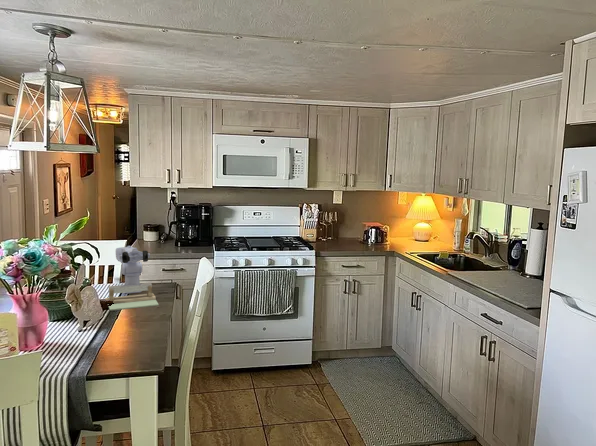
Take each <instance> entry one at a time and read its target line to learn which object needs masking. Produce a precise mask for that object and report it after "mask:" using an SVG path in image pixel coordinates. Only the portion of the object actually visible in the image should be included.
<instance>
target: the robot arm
mask: <svg viewBox="0 0 596 446" xmlns="http://www.w3.org/2000/svg"><path fill="white" fill-rule="evenodd" d="M115 258H116V260H117V262H120V263H121V273H122V275H124V285H130V284H141V283H140V275H141V274H142V273H143V263H142V262H144V263H145V262H148V261H149V258H151V253H149V251H148V250H142V251H140V250H138V248H137V247H133V246H131V245H126V246H121V247H116V248H115ZM141 261H142V262H141ZM136 293H137V294H138V293H139V294H140V293H142V291H135V292H124V294H136Z"/></svg>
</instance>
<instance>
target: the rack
mask: <svg viewBox="0 0 596 446" xmlns="http://www.w3.org/2000/svg"><path fill="white" fill-rule="evenodd" d="M114 295H115V293H114V290H110V294H109V293H108V297H105V300H110V301H113V303H114V304H118V303H128V302H138V301H148V300H157V299H156V298H157V297H156V295H155V294H154V293H153V285H152V286H149V287H148V290H146V293H144V294H143V293H141V294H133V295H123V296H114ZM105 300H104V301H105Z"/></svg>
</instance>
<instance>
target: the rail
mask: <svg viewBox="0 0 596 446" xmlns="http://www.w3.org/2000/svg"><path fill="white" fill-rule="evenodd" d="M149 286H152V287H153V284H152V282H144V283H140V284H130V285H125V284H120V285H110V286H108V295H109V294H110V290H114V294H122V293H124V294H125V292H135V291H141V292H145V291H146V292H147V290H148V287H149Z"/></svg>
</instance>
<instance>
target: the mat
mask: <svg viewBox="0 0 596 446" xmlns="http://www.w3.org/2000/svg"><path fill="white" fill-rule="evenodd" d="M157 306H159V303H158V301H157V299H154V300H145V301H135V302H125V303H115V304H112V305H111V306H108V309H109V311H110V312H111V311H119V310H127V309H129V310H130V309H138V308H149V307H157Z"/></svg>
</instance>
